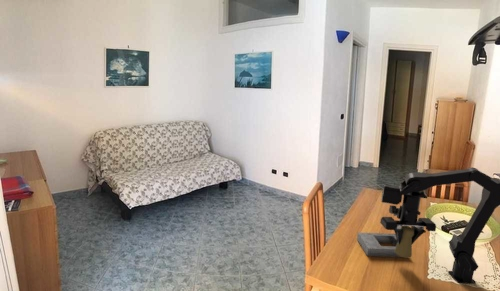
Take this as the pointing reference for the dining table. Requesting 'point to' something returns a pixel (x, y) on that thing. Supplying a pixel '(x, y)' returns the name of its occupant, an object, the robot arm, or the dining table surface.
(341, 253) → the dining table surface
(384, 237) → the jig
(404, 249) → the olive pawn
